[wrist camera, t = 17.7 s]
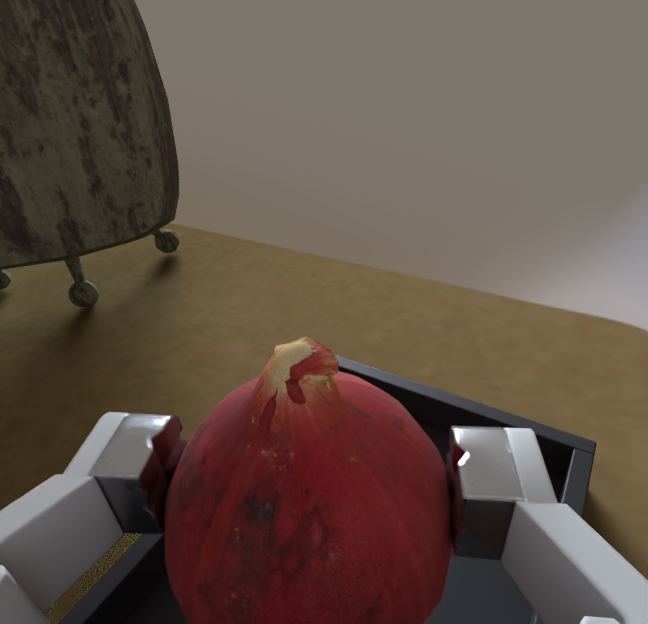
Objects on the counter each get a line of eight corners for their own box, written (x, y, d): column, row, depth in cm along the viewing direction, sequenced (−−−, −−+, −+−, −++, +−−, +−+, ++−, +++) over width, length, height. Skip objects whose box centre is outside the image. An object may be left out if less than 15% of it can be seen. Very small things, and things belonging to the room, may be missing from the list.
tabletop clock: (193, 237, 36) (71, -268, 22) (215, 296, 29) (55, -401, 15) (-25, 284, 32) (-345, -292, 18) (-62, 364, 25) (-642, -486, 11)
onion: (396, 821, 9) (411, 611, 4) (155, 672, 11) (4, 433, 7) (462, 542, 13) (504, 294, 9) (279, 475, 15) (238, 250, 11)
